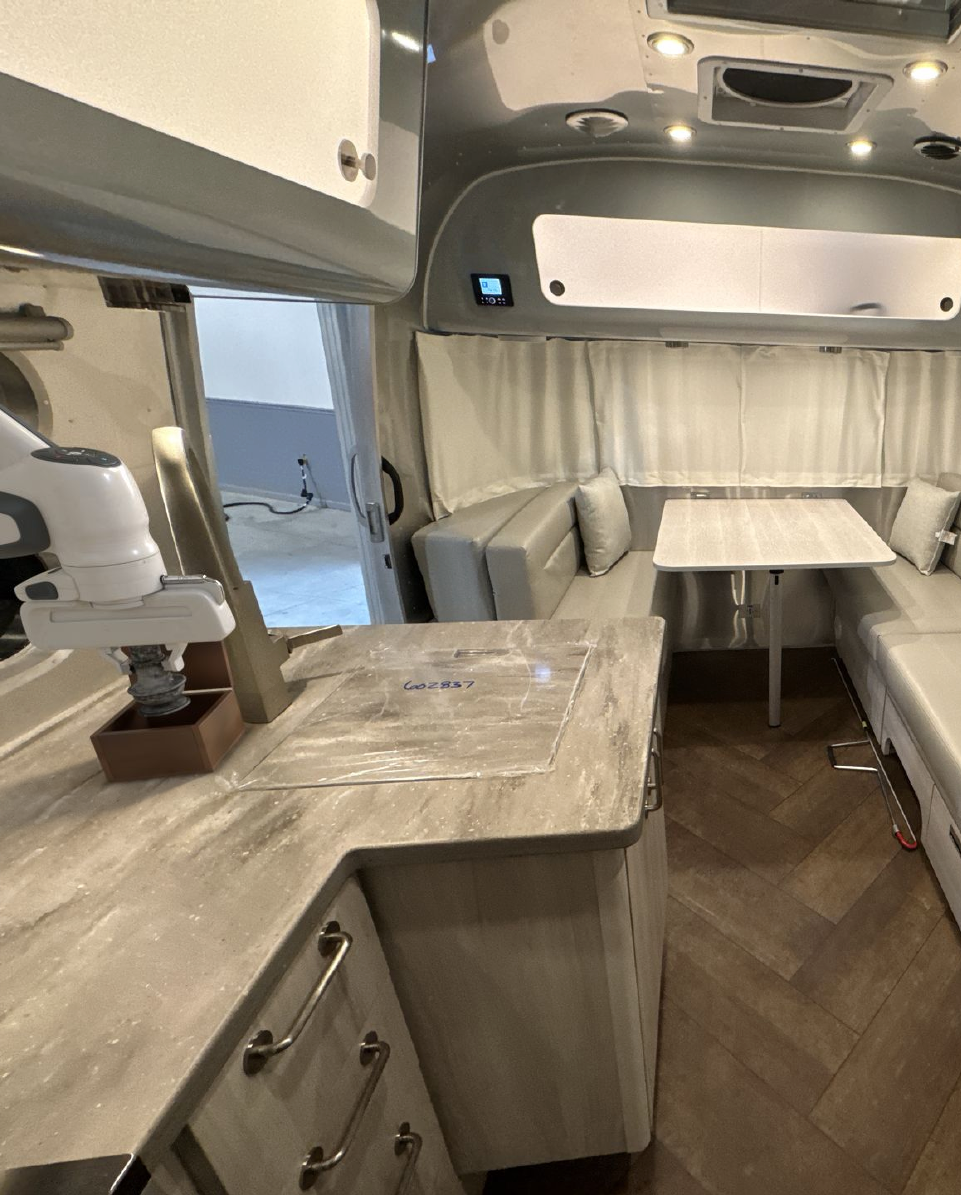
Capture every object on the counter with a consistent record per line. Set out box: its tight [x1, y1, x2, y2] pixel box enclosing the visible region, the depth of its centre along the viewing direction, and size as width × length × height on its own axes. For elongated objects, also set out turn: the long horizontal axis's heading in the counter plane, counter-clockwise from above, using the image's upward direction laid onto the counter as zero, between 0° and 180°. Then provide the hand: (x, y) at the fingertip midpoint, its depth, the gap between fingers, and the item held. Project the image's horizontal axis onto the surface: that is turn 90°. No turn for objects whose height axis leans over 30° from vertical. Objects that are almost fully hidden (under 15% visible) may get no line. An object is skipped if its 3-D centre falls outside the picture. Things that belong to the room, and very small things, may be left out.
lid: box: [119, 638, 235, 692], centre depth 94 cm, size 11×12×5 cm
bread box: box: [89, 689, 247, 784], centre depth 91 cm, size 10×12×8 cm
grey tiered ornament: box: [126, 644, 190, 717], centre depth 87 cm, size 6×6×12 cm
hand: (152, 671), depth 87 cm, fingers closed on grey tiered ornament, 3 cm apart
